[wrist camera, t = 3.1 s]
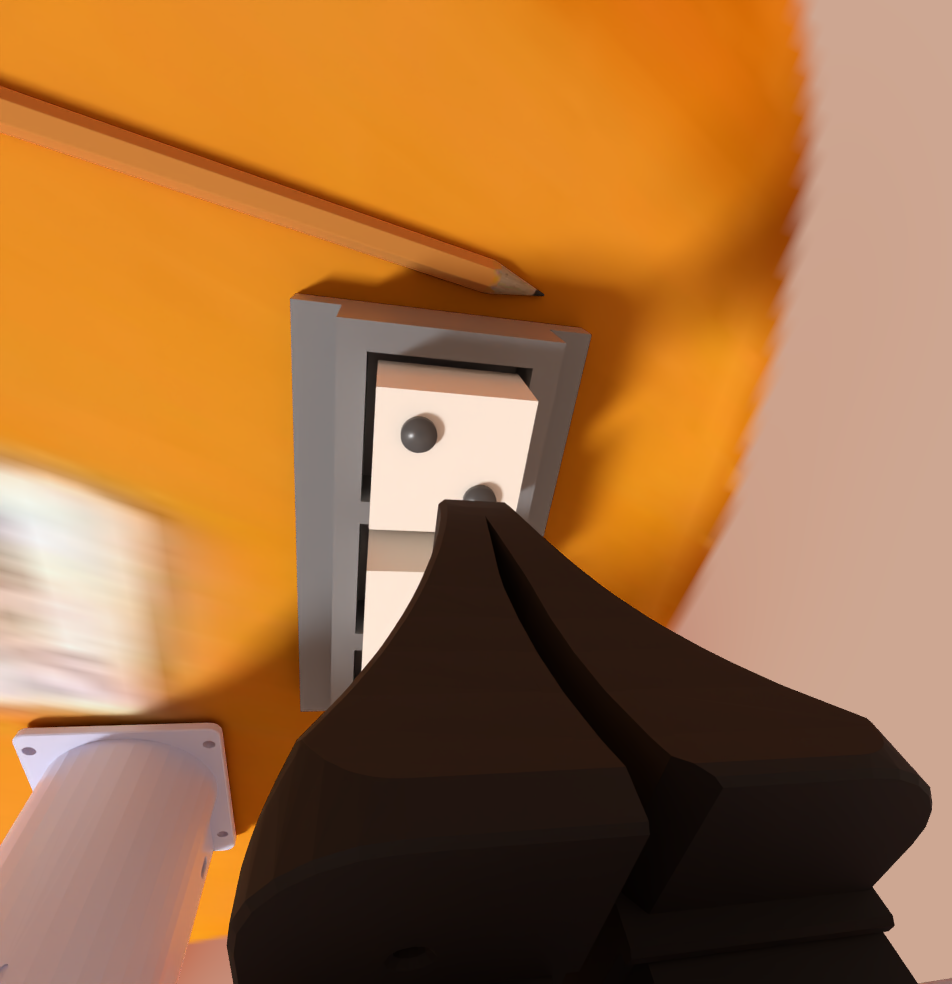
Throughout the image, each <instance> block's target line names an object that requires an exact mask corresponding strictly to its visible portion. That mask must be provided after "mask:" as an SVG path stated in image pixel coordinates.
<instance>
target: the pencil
mask: <svg viewBox="0 0 952 984" xmlns="http://www.w3.org/2000/svg"><path fill="white" fill-rule="evenodd" d="M0 133H3V134H6V135H9V136H12V137H15V138H18V139H21V140H24V141H27V142H30V143H33V144H36V145H39V146H42V147H45V148H48V149H51V150H55V151H58V152H61V153H64V154H67V155H70V156H73V157H76V158H79V159H82V160H85V161H88V162H91V163H94V164H97V165H100V166H103V167H106V168H109V169H112V170H115V171H118V172H121V173H124V174H127V175H130V176H133V177H136V178H139V179H142V180H145V181H148V182H151V183H154V184H157V185H160V186H163V187H166V188H169V189H172V190H175V191H178V192H181V193H184V194H187V195H190V196H193V197H196V198H199V199H202V200H205V201H208V202H211V203H214V204H217V205H220V206H223V207H226V208H229V209H232V210H235V211H238V212H241V213H244V214H248V215H251V216H254V217H257V218H260V219H263V220H266V221H269V222H272V223H275V224H278V225H281V226H284V227H287V228H290V229H293V230H296V231H299V232H302V233H305V234H308V235H311V236H314V237H317V238H320V239H323V240H326V241H329V242H332V243H335V244H338V245H341V246H344V247H347V248H350V249H353V250H356V251H359V252H362V253H365V254H368V255H371V256H374V257H377V258H380V259H383V260H386V261H389V262H392V263H395V264H398V265H401V266H404V267H407V268H410V269H413V270H416V271H419V272H422V273H425V274H428V275H431V276H434V277H437V278H441V279H444V280H447V281H450V282H453V283H456V284H459V285H462V286H465V287H468V288H471V289H474V290H477V291H480V292H483V293H489V294H509V295H530V296H544V294H543V293H541V292H540V291H539V290H537V289H536V288H534V287H533V286H531V285H530V284H529V283H527V282H526V281H524V280H523V279H521V278H520V277H519V276H517V275H516V274H514V273H513V272H511V271H510V270H509V269H507V268H506V267H504V266H503V265H501V264H500V263H499V262H497V261H496V260H493V259H491V258H488V257H485V256H482V255H479V254H476V253H474V252H471V251H468V250H465V249H462V248H459V247H457V246H454V245H451V244H448V243H445V242H442V241H439V240H437V239H434V238H431V237H428V236H425V235H422V234H420V233H417V232H414V231H411V230H408V229H405V228H403V227H400V226H397V225H394V224H391V223H388V222H386V221H383V220H380V219H377V218H374V217H371V216H369V215H366V214H363V213H360V212H357V211H354V210H351V209H349V208H346V207H343V206H340V205H337V204H334V203H332V202H329V201H326V200H323V199H320V198H317V197H315V196H312V195H309V194H306V193H303V192H300V191H298V190H295V189H292V188H289V187H286V186H283V185H280V184H278V183H275V182H272V181H269V180H266V179H263V178H261V177H258V176H255V175H252V174H249V173H246V172H244V171H241V170H238V169H235V168H232V167H229V166H227V165H224V164H221V163H218V162H215V161H212V160H209V159H207V158H204V157H201V156H198V155H195V154H192V153H190V152H187V151H184V150H181V149H178V148H175V147H173V146H170V145H167V144H164V143H161V142H158V141H156V140H153V139H150V138H147V137H144V136H141V135H138V134H136V133H133V132H130V131H127V130H124V129H121V128H119V127H116V126H113V125H110V124H107V123H104V122H102V121H99V120H96V119H93V118H90V117H87V116H85V115H82V114H79V113H76V112H73V111H70V110H68V109H65V108H62V107H59V106H56V105H53V104H50V103H48V102H45V101H42V100H39V99H36V98H33V97H31V96H28V95H25V94H22V93H19V92H16V91H14V90H11V89H8V88H5V87H2V86H0Z"/></svg>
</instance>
